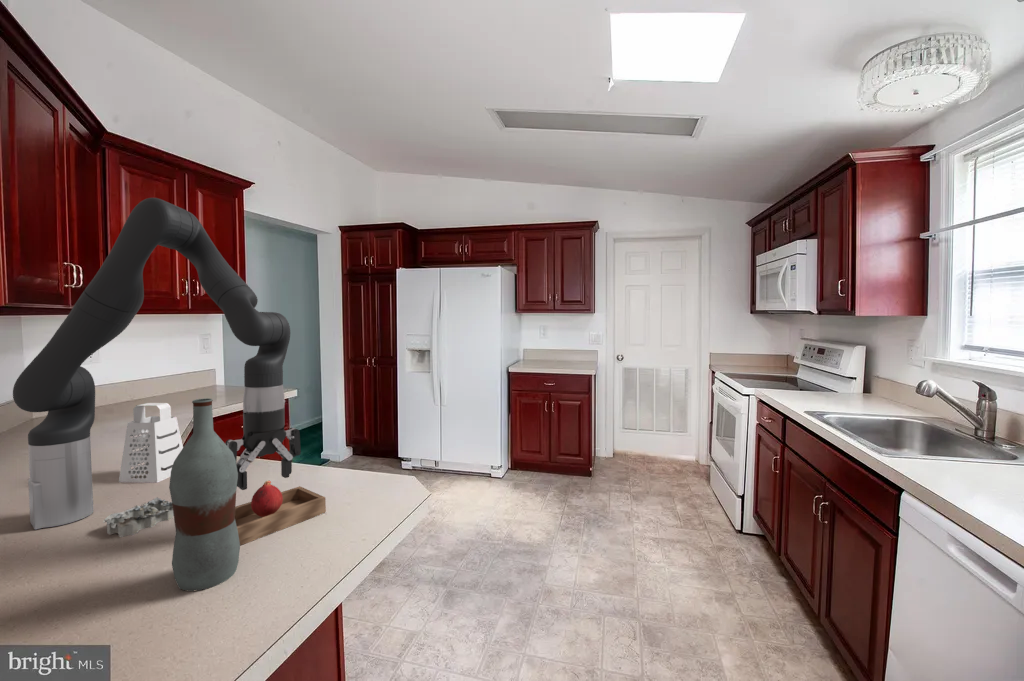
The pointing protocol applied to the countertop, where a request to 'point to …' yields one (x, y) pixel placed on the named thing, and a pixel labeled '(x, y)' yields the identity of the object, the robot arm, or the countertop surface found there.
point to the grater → (150, 445)
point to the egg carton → (139, 517)
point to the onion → (266, 500)
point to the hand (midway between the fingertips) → (264, 482)
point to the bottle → (204, 506)
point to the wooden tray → (279, 514)
